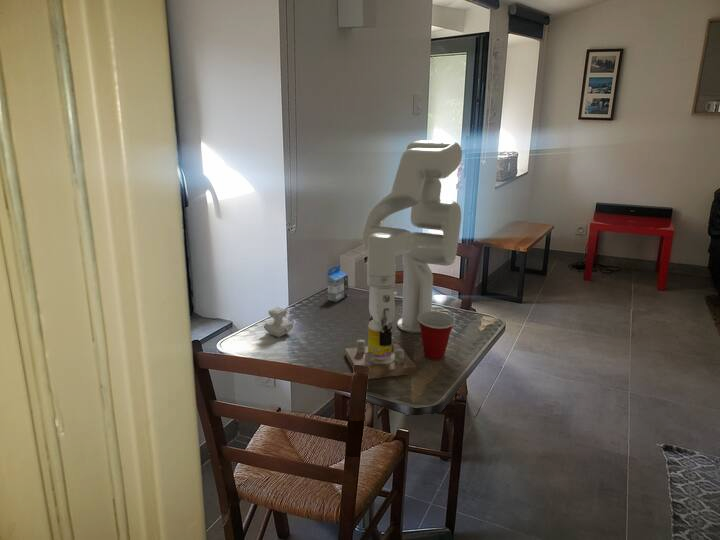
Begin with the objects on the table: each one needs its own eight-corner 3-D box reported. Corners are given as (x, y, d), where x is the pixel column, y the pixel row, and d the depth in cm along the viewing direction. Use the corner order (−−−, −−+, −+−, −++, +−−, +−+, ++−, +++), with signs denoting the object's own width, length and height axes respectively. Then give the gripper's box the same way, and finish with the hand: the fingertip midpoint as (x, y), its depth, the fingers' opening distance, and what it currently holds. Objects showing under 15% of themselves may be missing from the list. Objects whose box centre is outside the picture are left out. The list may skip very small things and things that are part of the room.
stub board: (397, 349, 160) (397, 332, 159) (416, 373, 146) (417, 354, 144) (345, 354, 156) (345, 337, 155) (359, 380, 142) (359, 361, 140)
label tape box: (336, 302, 201) (336, 270, 197) (327, 300, 203) (326, 269, 199) (348, 295, 208) (348, 265, 205) (339, 294, 210) (339, 263, 207)
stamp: (296, 334, 171) (295, 309, 168) (281, 341, 166) (280, 315, 163) (276, 327, 176) (275, 303, 174) (261, 334, 171) (260, 309, 169)
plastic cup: (427, 367, 149) (429, 326, 146) (409, 351, 159) (410, 313, 156) (460, 360, 153) (463, 321, 150) (440, 346, 163) (442, 309, 160)
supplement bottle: (384, 363, 146) (385, 319, 143) (363, 357, 150) (363, 314, 146) (395, 354, 152) (397, 311, 148) (375, 349, 155) (376, 307, 151)
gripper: (405, 287, 137) (403, 349, 142) (384, 269, 153) (383, 325, 158) (377, 289, 135) (375, 352, 140) (359, 271, 151) (359, 327, 156)
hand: (380, 338), depth 149 cm, fingers open, 9 cm apart
